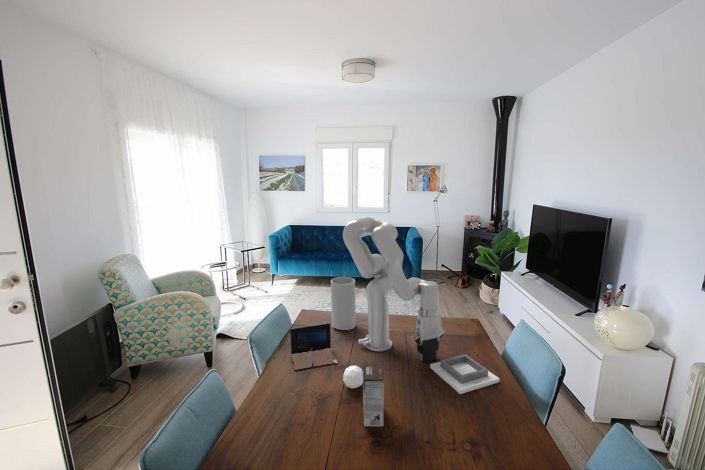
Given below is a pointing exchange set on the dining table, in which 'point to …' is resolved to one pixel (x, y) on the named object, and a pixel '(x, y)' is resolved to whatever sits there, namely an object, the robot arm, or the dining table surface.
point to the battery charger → (429, 350)
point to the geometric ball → (353, 377)
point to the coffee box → (373, 394)
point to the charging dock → (464, 373)
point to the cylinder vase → (343, 303)
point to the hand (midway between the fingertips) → (427, 350)
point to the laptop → (310, 338)
